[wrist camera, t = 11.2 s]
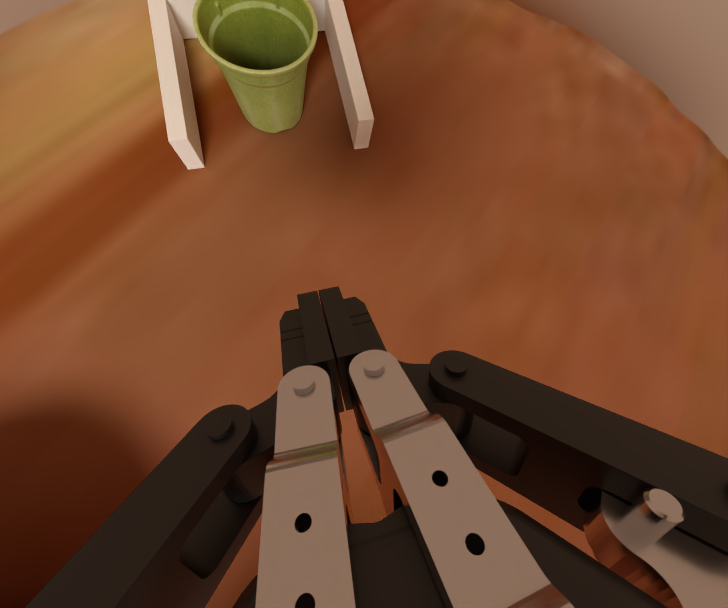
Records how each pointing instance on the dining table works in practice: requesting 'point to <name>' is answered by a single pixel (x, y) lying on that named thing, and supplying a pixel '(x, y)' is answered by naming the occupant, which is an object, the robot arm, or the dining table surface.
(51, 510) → the dining table surface
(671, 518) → the robot arm
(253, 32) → the plant pot
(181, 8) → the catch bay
